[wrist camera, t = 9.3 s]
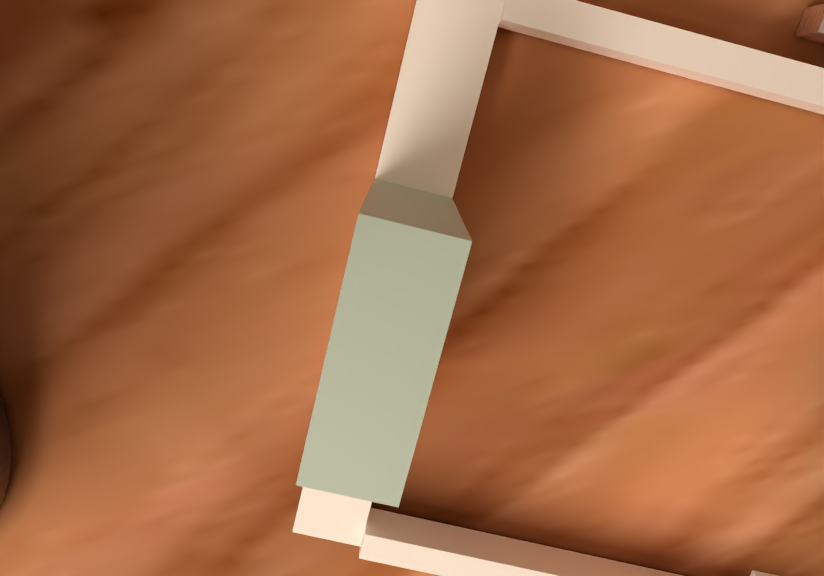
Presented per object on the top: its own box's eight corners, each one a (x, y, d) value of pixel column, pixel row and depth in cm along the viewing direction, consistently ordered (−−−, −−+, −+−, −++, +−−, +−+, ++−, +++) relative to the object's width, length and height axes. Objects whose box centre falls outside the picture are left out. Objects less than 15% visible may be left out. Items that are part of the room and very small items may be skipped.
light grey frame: (296, 515, 30) (247, 695, 21) (424, -30, 25) (433, -111, 15) (935, 652, 32) (1145, 871, 23) (1192, 180, 27) (1610, 219, 17)
